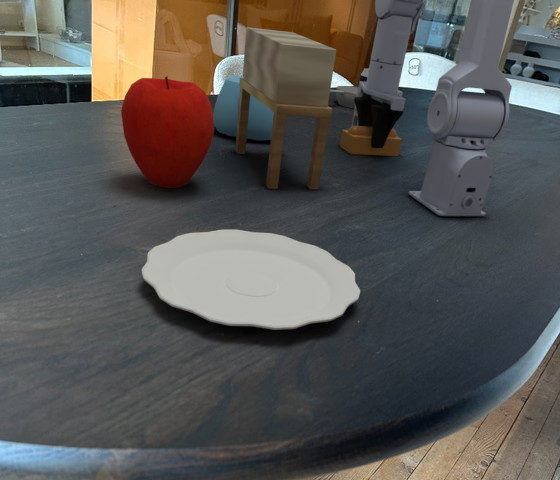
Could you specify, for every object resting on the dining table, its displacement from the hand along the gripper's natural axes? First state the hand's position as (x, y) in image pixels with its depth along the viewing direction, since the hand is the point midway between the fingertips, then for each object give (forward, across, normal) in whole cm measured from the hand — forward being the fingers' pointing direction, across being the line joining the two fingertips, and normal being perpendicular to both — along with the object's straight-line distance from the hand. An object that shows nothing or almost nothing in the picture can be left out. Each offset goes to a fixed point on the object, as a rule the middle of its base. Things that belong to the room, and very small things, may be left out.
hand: (370, 143), depth 109 cm
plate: (+2, -52, +38) cm, 64 cm away
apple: (+2, -21, +41) cm, 46 cm away
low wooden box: (+1, 0, 0) cm, 1 cm away
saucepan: (+2, +41, -13) cm, 43 cm away
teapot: (+2, +9, +21) cm, 23 cm away
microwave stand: (+1, -13, +23) cm, 26 cm away
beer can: (+2, +12, -4) cm, 13 cm away
